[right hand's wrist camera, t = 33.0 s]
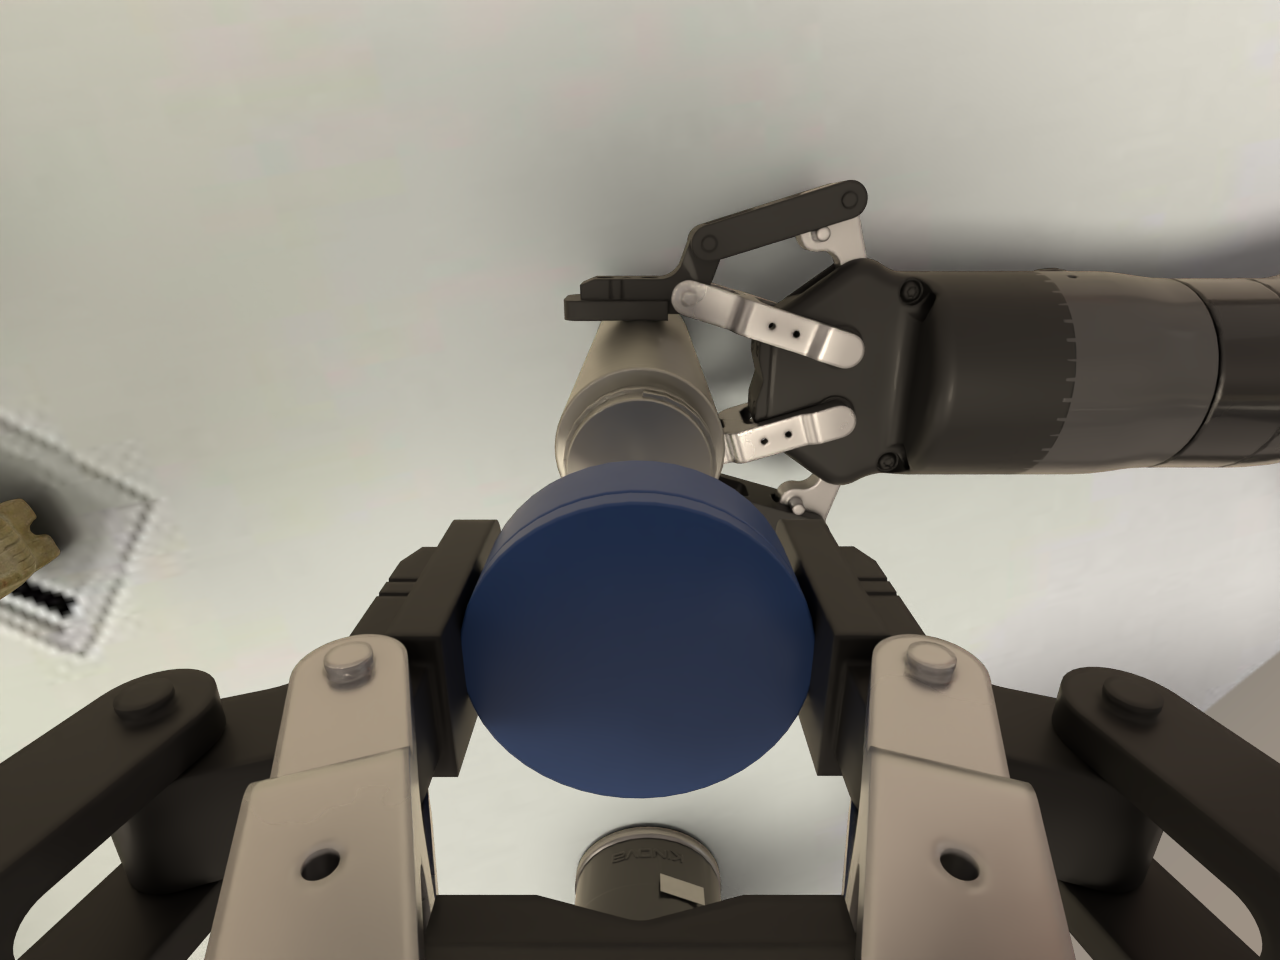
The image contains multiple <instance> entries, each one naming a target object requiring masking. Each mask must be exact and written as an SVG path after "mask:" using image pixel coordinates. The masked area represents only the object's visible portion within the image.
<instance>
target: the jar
mask: <svg viewBox="0 0 1280 960" xmlns="http://www.w3.org/2000/svg"><path fill="white" fill-rule="evenodd" d="M555 457H556V462H557V467H558V470H559V473H560V476H561V478H562V477H564V476H566V475H568V474H571V473H574V472H576V471H579V470H582V469H585V468H587V467H591V466H596V465H600V464H605V463H609V462H619V461H630V460H639V461H658V462H664V463H671V464H677V465H680V466H684V467H687V468H691V469H694V470H697V471H700V472H702V473H704V474H707V475H709V476H711V477H714V478H716V479H719V477H720V474H721V471H722V468H723V463H724V457H725V438H724V432H723V428H722V424H721V421H720V418H719V416H718V413H717V410H716V407H715V405H714V402H713V399H712V396H711V393H710V391H709V388H708V385H707V382H706V380H705V377H704V374H703V371H702V369H701V366H700V363H699V360H698V358H697V355H696V352H695V349H694V347H693V344H692V341H691V338H690V336H689V333H688V330H687V327H686V325H685V323H684V321H683V319H682V317H681V316H680V315H679V314H668V321H645V320H644V321H602V322H601V324H600V326H599V329H598V331H597V333H596V336H595V338H594V340H593V343H592V345H591V347H590V350H589V352H588V354H587V357H586V359H585V362H584V364H583V366H582V369H581V371H580V373H579V376H578V378H577V380H576V383H575V385H574V387H573V390H572V392H571V395H570V397H569V399H568V402H567V404H566V406H565V409H564V411H563V413H562V416H561V419H560V421H559V424H558V427H557V432H556V438H555Z"/></svg>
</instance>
